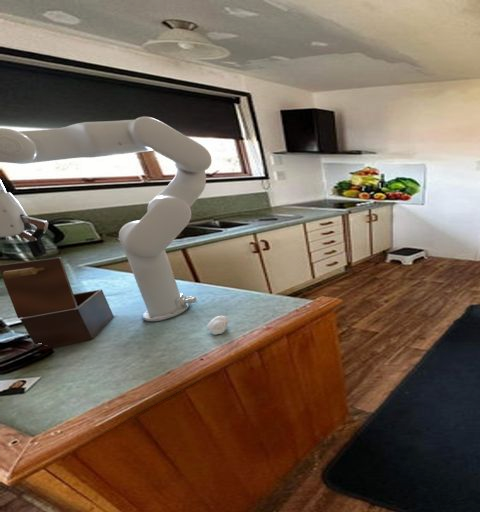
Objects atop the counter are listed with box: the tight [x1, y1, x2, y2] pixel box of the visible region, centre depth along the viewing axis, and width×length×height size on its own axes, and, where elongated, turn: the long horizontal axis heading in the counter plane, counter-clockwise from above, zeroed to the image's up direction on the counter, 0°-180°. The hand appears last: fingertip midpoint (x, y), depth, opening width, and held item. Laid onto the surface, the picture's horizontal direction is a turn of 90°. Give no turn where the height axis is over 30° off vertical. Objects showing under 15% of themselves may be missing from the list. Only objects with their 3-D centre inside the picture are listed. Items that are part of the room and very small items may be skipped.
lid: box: [0, 257, 78, 319], centre depth 71 cm, size 14×12×5 cm
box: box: [19, 289, 115, 352], centre depth 82 cm, size 14×12×10 cm
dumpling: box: [206, 315, 229, 336], centre depth 81 cm, size 7×5×4 cm
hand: (13, 258), depth 67 cm, fingers open, 9 cm apart
